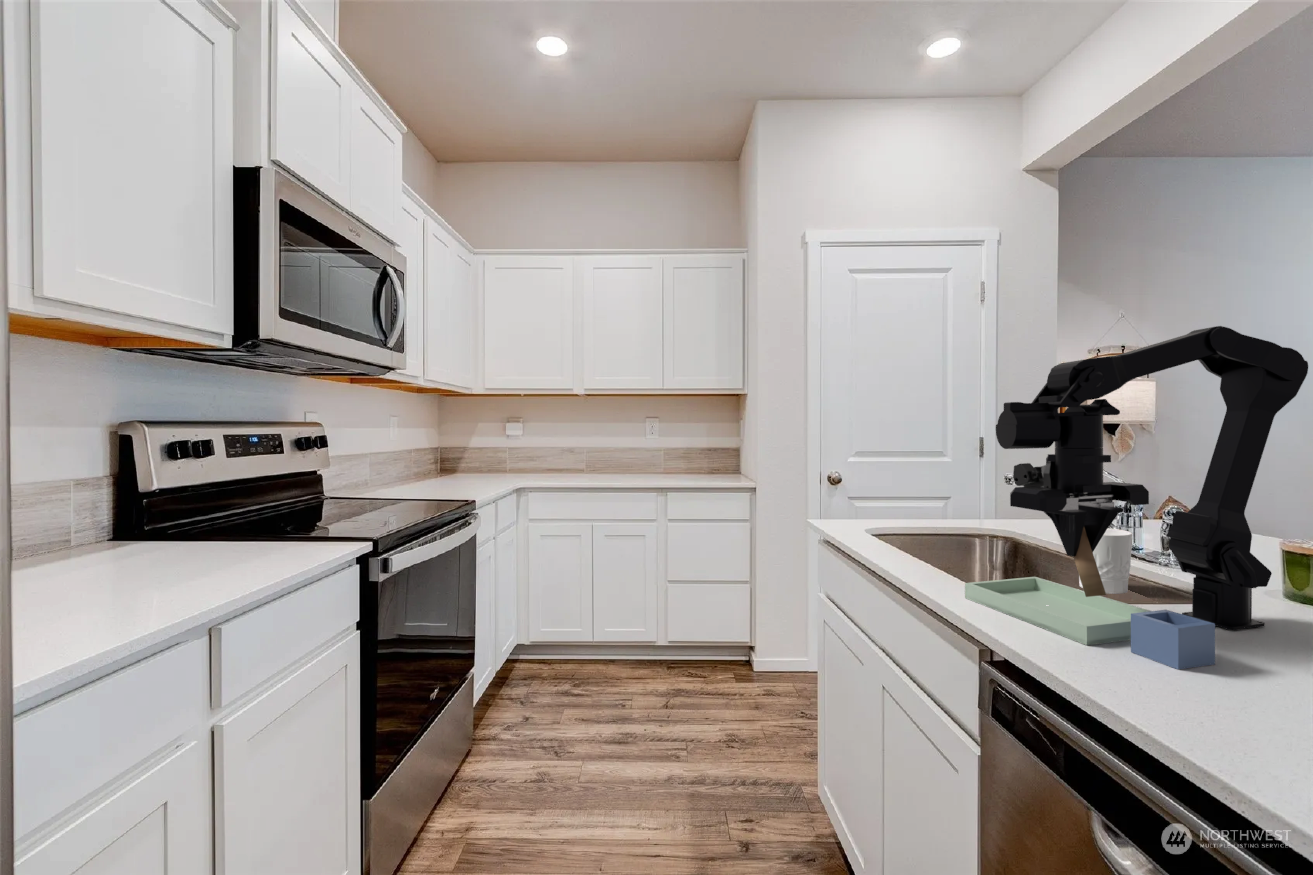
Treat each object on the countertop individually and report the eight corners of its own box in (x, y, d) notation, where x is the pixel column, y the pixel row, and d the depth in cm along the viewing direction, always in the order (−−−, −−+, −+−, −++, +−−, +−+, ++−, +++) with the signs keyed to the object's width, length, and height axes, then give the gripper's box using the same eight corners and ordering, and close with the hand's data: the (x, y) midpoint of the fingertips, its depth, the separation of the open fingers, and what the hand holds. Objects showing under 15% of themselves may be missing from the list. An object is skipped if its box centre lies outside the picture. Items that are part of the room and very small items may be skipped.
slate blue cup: (1165, 647, 77) (1165, 609, 77) (1214, 664, 72) (1215, 623, 72) (1130, 651, 76) (1130, 613, 76) (1178, 669, 70) (1178, 628, 70)
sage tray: (1035, 591, 103) (1035, 576, 103) (1171, 634, 81) (1171, 616, 81) (964, 598, 100) (964, 583, 100) (1086, 645, 78) (1086, 626, 78)
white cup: (1142, 596, 99) (1142, 535, 99) (1089, 594, 100) (1088, 535, 100) (1116, 583, 107) (1116, 527, 106) (1066, 582, 108) (1066, 526, 108)
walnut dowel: (1073, 589, 89) (1073, 521, 89) (1110, 600, 84) (1110, 527, 83) (1060, 590, 89) (1060, 522, 88) (1096, 601, 83) (1095, 528, 83)
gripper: (1080, 444, 96) (1081, 540, 97) (981, 447, 92) (982, 548, 93) (1151, 446, 86) (1152, 555, 86) (1042, 450, 81) (1043, 565, 82)
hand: (1079, 555), depth 87 cm, fingers closed on walnut dowel, 2 cm apart
